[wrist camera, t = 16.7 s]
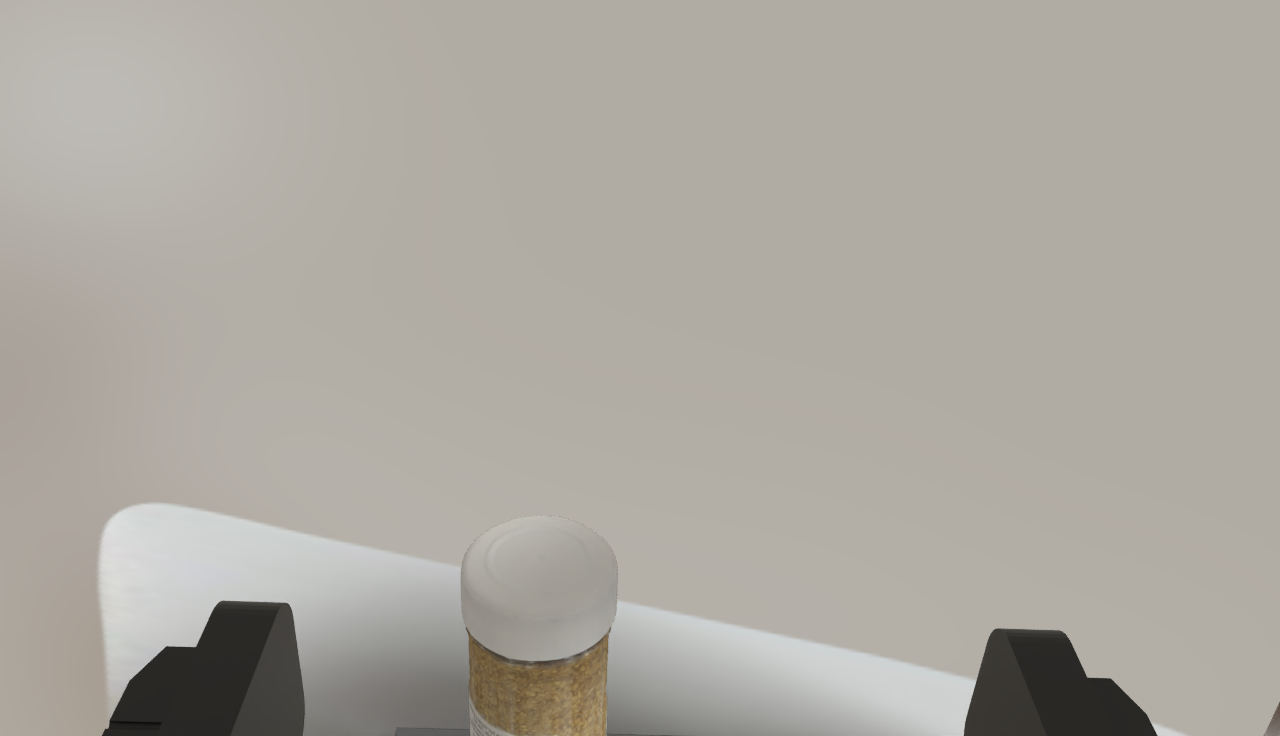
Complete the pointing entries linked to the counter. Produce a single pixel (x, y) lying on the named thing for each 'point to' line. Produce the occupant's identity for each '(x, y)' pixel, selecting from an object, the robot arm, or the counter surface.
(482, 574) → the spice jar
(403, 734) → the letter mat
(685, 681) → the counter surface
